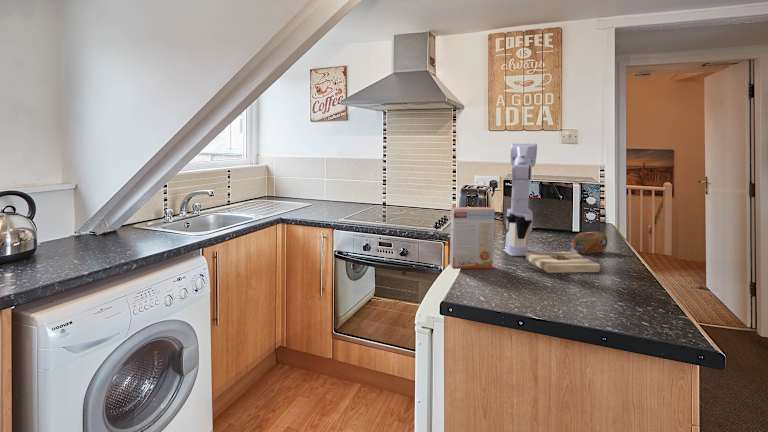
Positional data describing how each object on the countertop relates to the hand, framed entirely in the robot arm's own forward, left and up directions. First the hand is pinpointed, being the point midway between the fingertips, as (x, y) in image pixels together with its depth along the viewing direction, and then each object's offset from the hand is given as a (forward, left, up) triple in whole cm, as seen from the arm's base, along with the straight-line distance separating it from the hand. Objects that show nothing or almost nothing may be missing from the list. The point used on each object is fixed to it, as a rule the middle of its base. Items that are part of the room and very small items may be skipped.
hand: (517, 237), depth 149 cm
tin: (-16, +37, -10) cm, 41 cm away
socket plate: (+2, +16, -10) cm, 19 cm away
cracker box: (+3, -17, -10) cm, 20 cm away
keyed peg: (0, 0, -3) cm, 3 cm away
